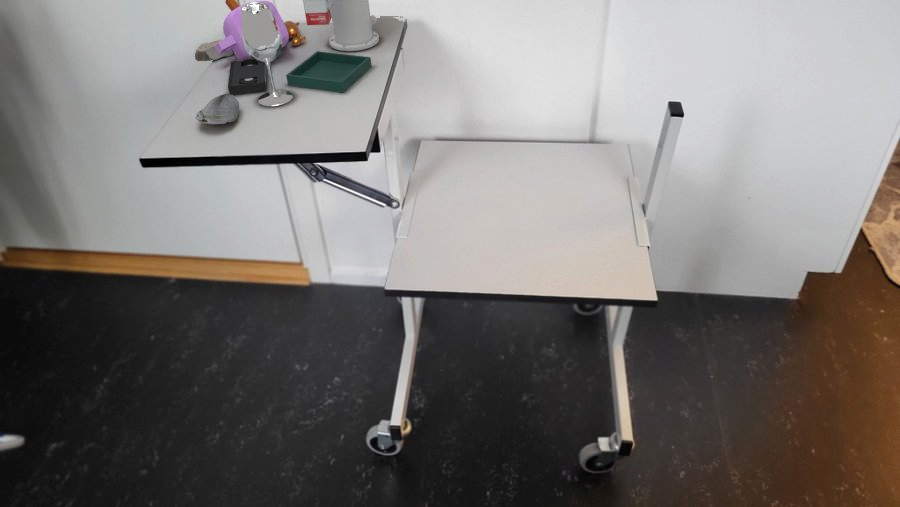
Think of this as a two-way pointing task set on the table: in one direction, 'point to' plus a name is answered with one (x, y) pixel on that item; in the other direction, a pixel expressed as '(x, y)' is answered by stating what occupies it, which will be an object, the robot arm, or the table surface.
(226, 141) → the table surface
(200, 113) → the seashell
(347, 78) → the tray
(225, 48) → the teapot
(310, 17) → the ink box
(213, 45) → the stone
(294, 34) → the figurine
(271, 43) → the wineglass
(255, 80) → the vhs tape
